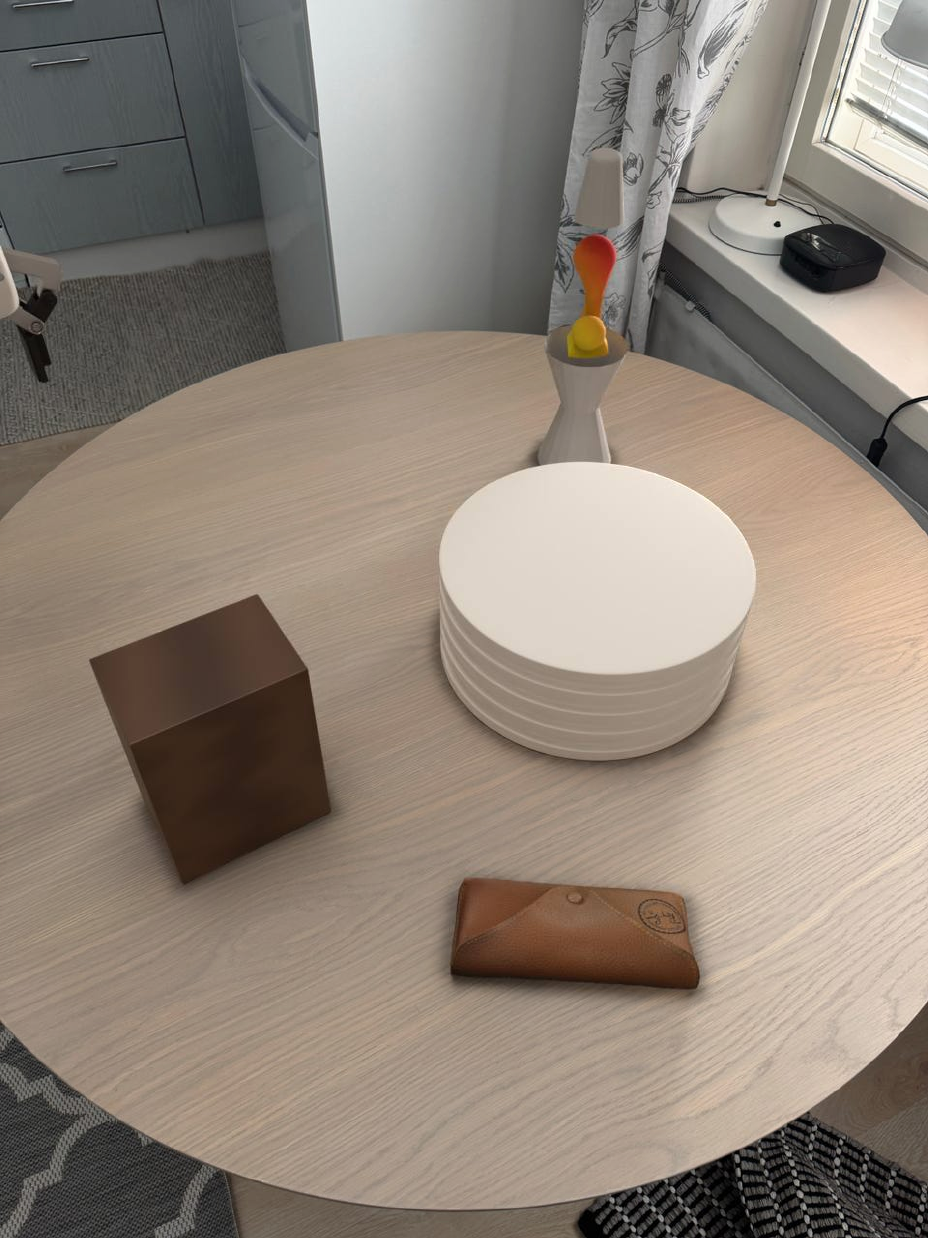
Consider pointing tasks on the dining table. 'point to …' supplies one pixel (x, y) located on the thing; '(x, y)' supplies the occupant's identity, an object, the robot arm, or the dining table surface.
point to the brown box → (218, 733)
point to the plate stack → (592, 608)
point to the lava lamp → (588, 325)
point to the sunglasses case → (572, 934)
